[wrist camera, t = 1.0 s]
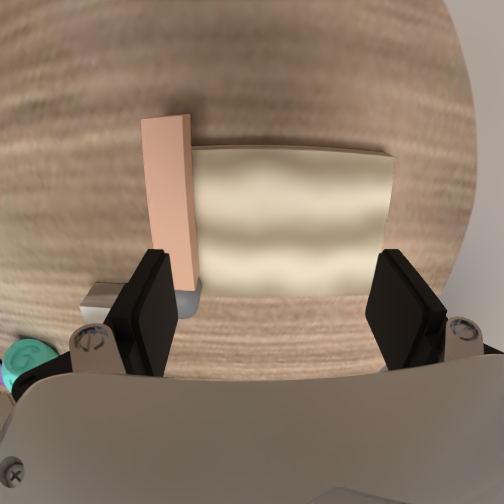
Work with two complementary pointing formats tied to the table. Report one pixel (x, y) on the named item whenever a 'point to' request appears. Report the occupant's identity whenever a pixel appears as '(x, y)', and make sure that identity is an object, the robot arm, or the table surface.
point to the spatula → (0, 378)
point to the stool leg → (173, 202)
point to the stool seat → (282, 222)
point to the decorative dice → (24, 359)
